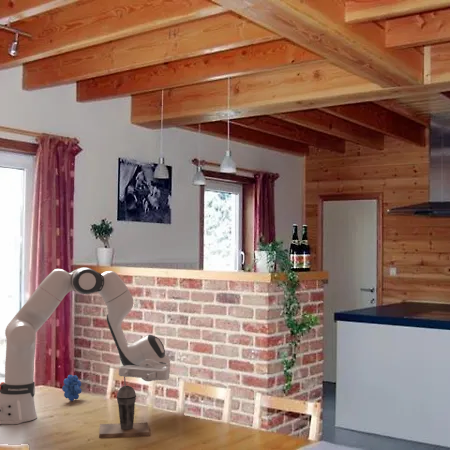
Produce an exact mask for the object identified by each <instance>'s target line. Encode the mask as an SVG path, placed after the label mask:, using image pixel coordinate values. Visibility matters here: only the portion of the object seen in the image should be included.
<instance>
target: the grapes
mask: <svg viewBox="0 0 450 450" xmlns="http://www.w3.org/2000/svg"><path fill="white" fill-rule="evenodd" d="M81 386H82V382H81V380H80V379H79V377H78V376H77V374H76V375H73V374H68V375H67V378H64V380H63V386H62V388H61V389H62V392H64V393H63V396H64V398H65V399H68V401H69V402H73V401H74V400H78V399H79V397H80V395H79V394H81V393H82V390H83V389H82V388H81Z"/></svg>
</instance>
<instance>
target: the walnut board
mask: <svg viewBox="0 0 450 450" xmlns="http://www.w3.org/2000/svg"><path fill="white" fill-rule="evenodd" d="M98 429H99V432H98V433H99V434H98V435H99V436H98V438H122V437H123V438H124V437H125V438H126V437H127V438H128V437H129V438H130V437H149V436H150V429H149V424H148V422H134V423H133V428H132V429H128V430H123V429H121V425H120V422H118V423H99V428H98Z"/></svg>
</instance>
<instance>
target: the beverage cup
mask: <svg viewBox="0 0 450 450" xmlns="http://www.w3.org/2000/svg"><path fill="white" fill-rule="evenodd" d="M123 383H124V384H123V386H121V387H120V388H119V389H118V391H117V394H116V401H117V406H118V415H119V423H120V425H121V429H123V430H128V429H132V428H133V423H135V408H136V407H135V406H136V405H135V404H136V399H137V393H136V391H135V389H134V388H133V387H132V386H131V385H127V384H126V377H125V374H124V376H123Z"/></svg>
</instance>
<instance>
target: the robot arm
mask: <svg viewBox="0 0 450 450" xmlns="http://www.w3.org/2000/svg"><path fill="white" fill-rule="evenodd" d="M72 291H73V292H75V293H78V294H81V295H91V294H94V293H98V294H99V295H100V296H101V298H102V299H103V302H104V303H105V305H106V308H107V311H108V312H107V314H106V322H107V326H108V329H109V331H110V335H111V337H112V339H113V342H114V344H115V346H116V350H117V352H118V354H119V355H118V356H119V359H120V362H121V364H122V366H120V367H118V376H119V377H124V374H125V378H136V379H140V378H141V379H142V380H143V381H145V382H153V381H167V380H169V379H170V374H171V373H170V372H171V371H170V369H171V360H170V358H169V357H168V356H167V355H166V349H165V347H164V344H163V343H162V341H161V339H160V338H158V337H157V336H155V335H153V334H148V335H146V336H143V337H142V338H140V339H138V340H136V341H134V342H132V343H128V341H127V339H126V335H125V333H124V331H123V328H122V324H123V321H124V319H125V318H126V317H127V316H128V314H130V312H131V311H132V309H133V307H134V298H133V297H134V296H133V295H132V293H131V291H130V290H129V288H128V286H127V285H126V283H125V282H124V280H123V279H122V278H121V277H120V276H119V275H118V273H116V272H115V271H113V270H107V271H104V272H102V273H100V272H98V271H97V270H94V268H93V269H92V268H90V267H86V266H82V267H78V268H77V269H74V270H72V271H70V272H68V271H66V270H64V269H62V268H55V269H54V270H52V271H51V272H49V274H48V275H46V277H44V279H43V280H42V281H41V282H40V283H39V284H38V286H37V287H36V289H35V290H34V291H33V293H32V294H31V296H30V297H29V298H28V300H27V301H26V302H25V304H24V305H23V306H22V307H21V308H20V310H18V312H16V314H15V315H14V316H13V318H12V319H11V320H10V322H9V323H8V324H7V326H6V328H5V330H4V331H5V332H4V334H5V335H4V336H5V337H6V348H5V349H6V350H5V360H4V361H5V363H4V364H5V365H4V382H3V381H2V382H0V425H18V424H21V423H26V422H30V421H33V420H35V419H37V418H38V416H37V411H36V410H37V409H36V406H35V405H36V404H35V394H36V385H35V381H34V378H35V376H34V375H35V373H34V372H35V358H36V356H35V355H36V340H37V332H38V331H39V329H41V327H43V325H44V324H45V322H47V321H48V320H49V318H50V317H51V316H52V315H53V314H54V312H55V311H56V309H57V308H58V307H59V305H60V304H61V302H62V301H63V299H64V298H65V297H66V295H68V293H70V292H72Z"/></svg>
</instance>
